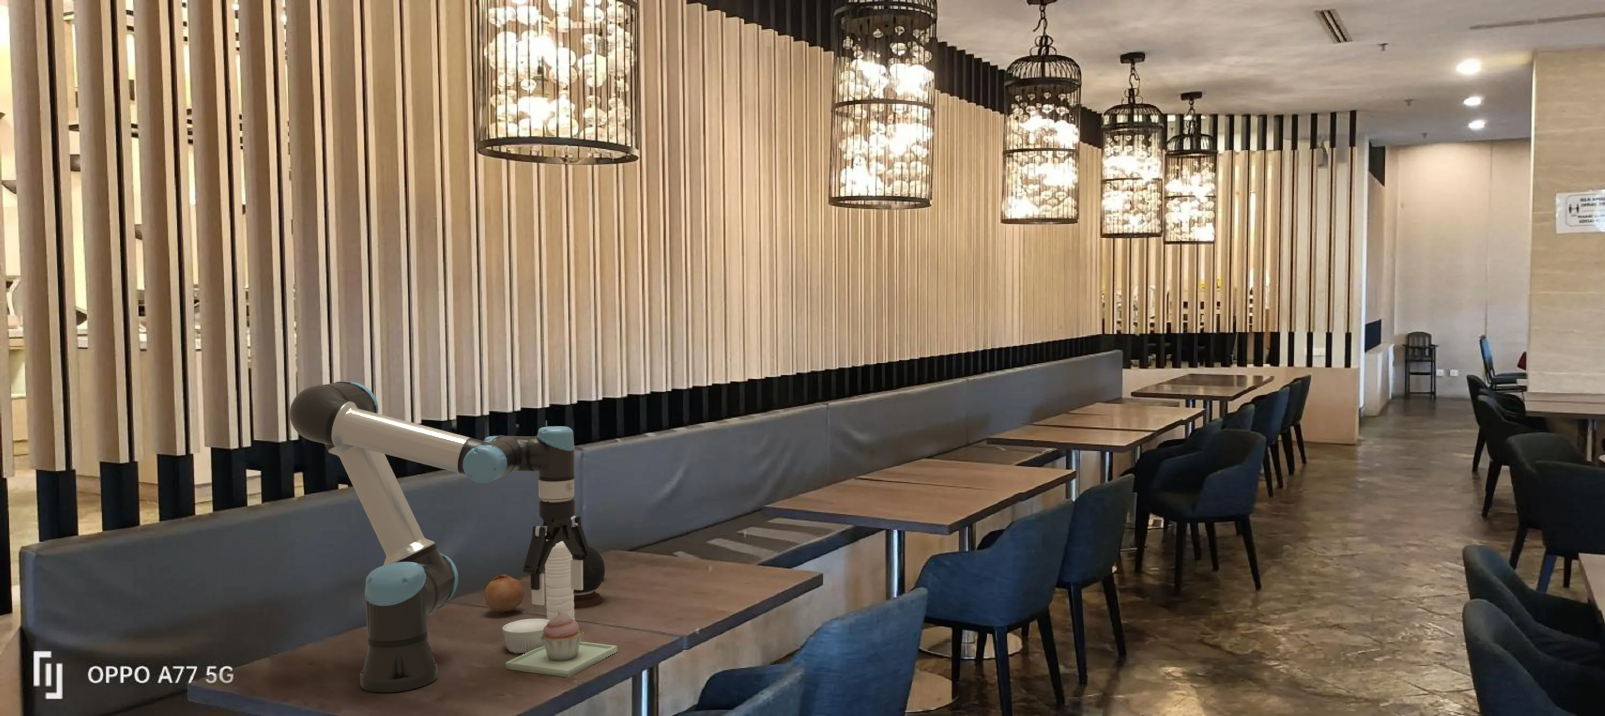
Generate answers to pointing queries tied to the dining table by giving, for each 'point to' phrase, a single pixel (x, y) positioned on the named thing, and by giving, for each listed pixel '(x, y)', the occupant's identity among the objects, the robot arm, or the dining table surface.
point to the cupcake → (561, 638)
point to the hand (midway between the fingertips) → (558, 596)
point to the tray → (543, 665)
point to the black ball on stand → (590, 581)
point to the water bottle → (559, 582)
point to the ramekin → (524, 635)
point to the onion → (504, 594)
